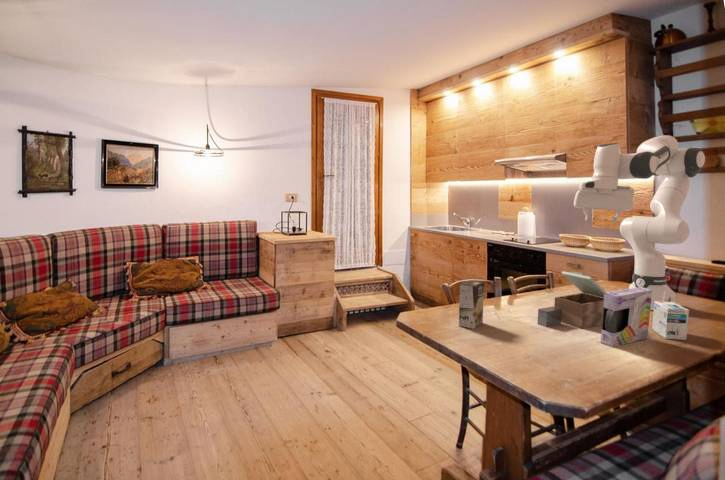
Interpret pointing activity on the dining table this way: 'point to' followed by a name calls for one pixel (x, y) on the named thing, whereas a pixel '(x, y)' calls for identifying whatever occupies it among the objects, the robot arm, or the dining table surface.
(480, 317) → the coffee box
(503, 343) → the dining table surface
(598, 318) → the crate
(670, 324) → the light bulb box
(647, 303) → the cake pan box
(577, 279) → the lid
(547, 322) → the block
